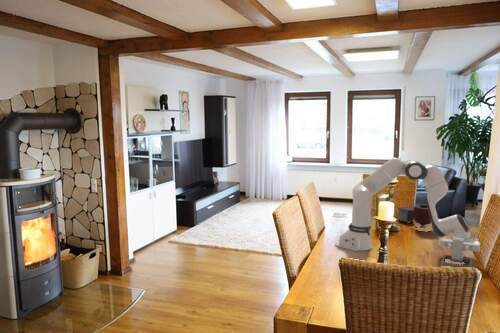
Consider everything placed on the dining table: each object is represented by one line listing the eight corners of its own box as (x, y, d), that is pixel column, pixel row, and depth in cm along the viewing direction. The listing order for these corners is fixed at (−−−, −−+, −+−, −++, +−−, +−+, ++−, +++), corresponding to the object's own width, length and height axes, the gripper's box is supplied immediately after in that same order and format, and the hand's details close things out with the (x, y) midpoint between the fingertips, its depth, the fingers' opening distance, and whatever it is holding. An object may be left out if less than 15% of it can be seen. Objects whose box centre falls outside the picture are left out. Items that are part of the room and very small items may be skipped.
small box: (413, 222, 303) (414, 209, 302) (407, 223, 301) (407, 210, 299) (403, 219, 313) (404, 206, 312) (397, 220, 310) (397, 207, 309)
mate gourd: (422, 226, 293) (423, 199, 291) (437, 231, 280) (439, 203, 278) (406, 228, 287) (407, 201, 285) (421, 233, 274) (422, 205, 272)
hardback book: (385, 230, 282) (386, 197, 279) (375, 229, 286) (376, 196, 283) (392, 225, 297) (393, 193, 294) (382, 223, 301) (383, 192, 298)
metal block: (451, 261, 211) (452, 239, 210) (452, 258, 215) (453, 236, 214) (461, 262, 208) (463, 240, 207) (462, 259, 212) (464, 238, 211)
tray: (440, 268, 210) (440, 261, 210) (443, 260, 222) (444, 254, 221) (470, 273, 203) (470, 267, 202) (472, 265, 214) (472, 259, 214)
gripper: (440, 233, 227) (436, 239, 215) (481, 238, 216) (479, 245, 204) (439, 243, 228) (436, 250, 216) (480, 250, 217) (479, 257, 205)
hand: (457, 248), depth 210 cm, fingers closed on metal block, 5 cm apart
